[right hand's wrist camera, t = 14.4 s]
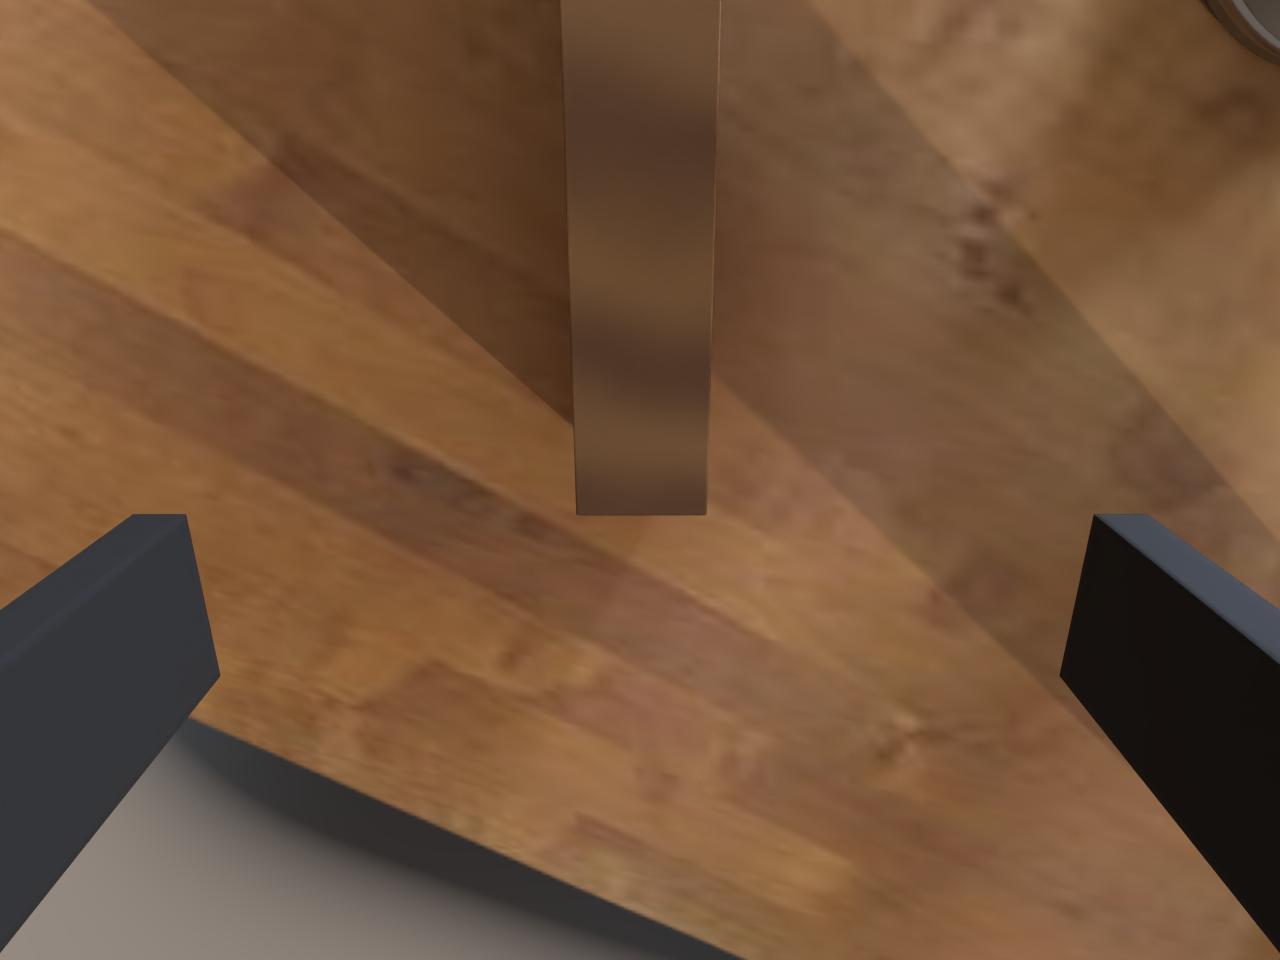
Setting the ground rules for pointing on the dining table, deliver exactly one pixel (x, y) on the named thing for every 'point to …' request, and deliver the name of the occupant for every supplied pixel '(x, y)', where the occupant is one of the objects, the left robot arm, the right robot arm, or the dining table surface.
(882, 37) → the dining table surface
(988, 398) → the dining table surface
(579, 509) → the post
